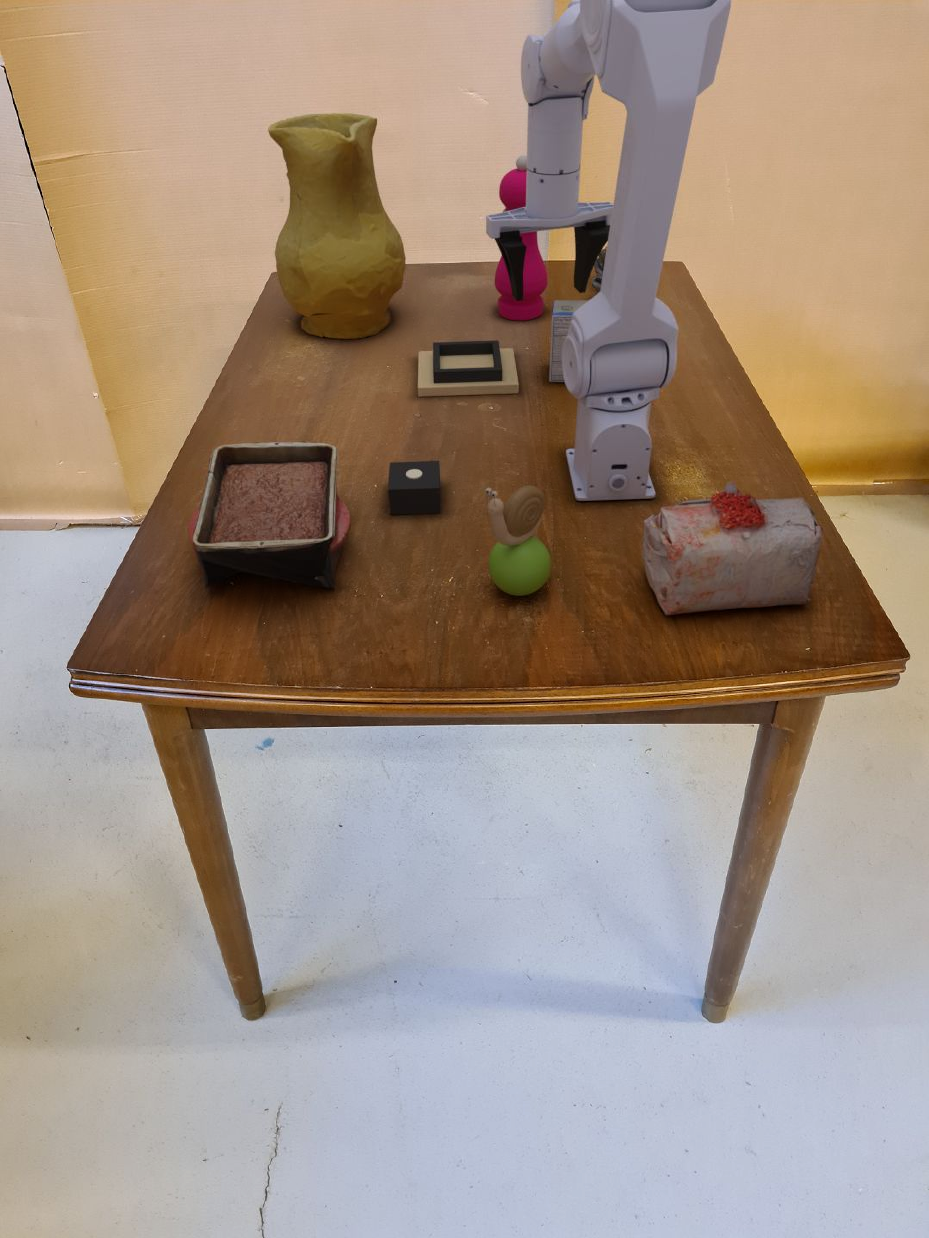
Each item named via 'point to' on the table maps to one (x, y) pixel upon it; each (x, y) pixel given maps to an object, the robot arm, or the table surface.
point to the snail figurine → (518, 542)
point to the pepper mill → (534, 267)
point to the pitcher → (336, 227)
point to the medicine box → (560, 334)
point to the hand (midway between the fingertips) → (548, 293)
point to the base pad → (467, 369)
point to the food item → (731, 552)
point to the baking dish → (271, 513)
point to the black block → (414, 487)
